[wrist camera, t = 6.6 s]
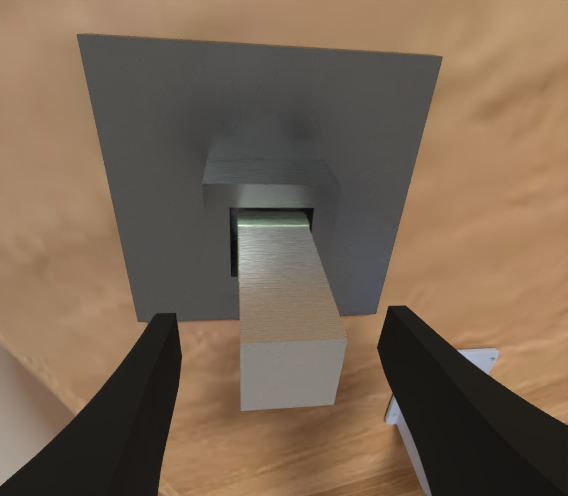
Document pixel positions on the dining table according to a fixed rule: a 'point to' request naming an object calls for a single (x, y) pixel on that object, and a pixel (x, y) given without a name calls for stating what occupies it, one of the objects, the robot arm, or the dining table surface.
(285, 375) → the post
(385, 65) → the stand
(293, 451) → the dining table surface
